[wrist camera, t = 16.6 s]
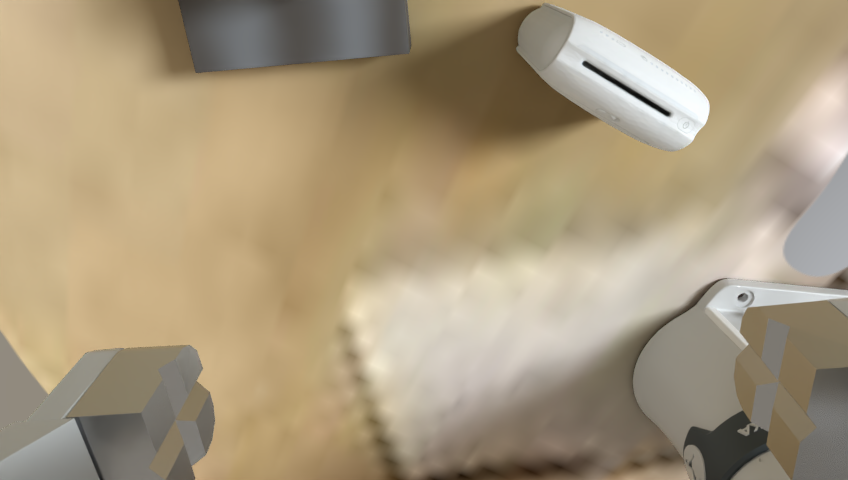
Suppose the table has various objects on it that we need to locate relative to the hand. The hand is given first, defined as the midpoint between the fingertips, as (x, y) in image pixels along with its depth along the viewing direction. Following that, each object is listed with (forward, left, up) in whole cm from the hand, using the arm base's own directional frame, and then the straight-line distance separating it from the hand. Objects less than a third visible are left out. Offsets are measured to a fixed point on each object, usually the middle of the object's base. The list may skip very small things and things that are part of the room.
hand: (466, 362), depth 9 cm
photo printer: (-10, +2, -37) cm, 39 cm away
